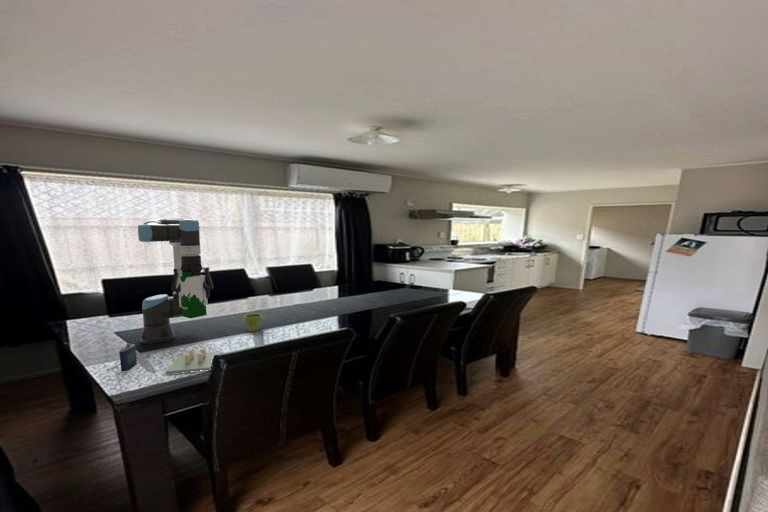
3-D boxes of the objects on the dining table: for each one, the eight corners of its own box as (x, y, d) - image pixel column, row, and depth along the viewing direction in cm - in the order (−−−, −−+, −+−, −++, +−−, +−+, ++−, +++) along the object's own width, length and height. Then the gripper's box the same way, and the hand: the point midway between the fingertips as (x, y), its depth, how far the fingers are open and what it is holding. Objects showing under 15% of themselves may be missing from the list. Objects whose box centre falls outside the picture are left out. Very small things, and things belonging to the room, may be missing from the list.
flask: (132, 363, 152) (130, 339, 151) (139, 362, 152) (137, 339, 151) (119, 372, 143) (117, 347, 142) (126, 371, 143) (125, 347, 142)
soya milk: (178, 316, 149) (176, 271, 148) (199, 312, 157) (196, 269, 155) (189, 319, 145) (187, 273, 143) (210, 314, 152) (207, 270, 151)
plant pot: (256, 333, 193) (255, 318, 192) (241, 332, 195) (241, 317, 194) (265, 328, 202) (264, 313, 201) (251, 327, 204) (250, 313, 203)
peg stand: (165, 374, 141) (165, 362, 140) (180, 358, 158) (179, 346, 157) (213, 370, 145) (212, 358, 144) (222, 354, 162) (221, 343, 162)
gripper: (159, 256, 142) (162, 309, 144) (216, 255, 147) (218, 306, 150) (166, 255, 149) (169, 305, 151) (220, 253, 155) (222, 302, 157)
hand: (193, 305), depth 150 cm, fingers closed on soya milk, 9 cm apart
